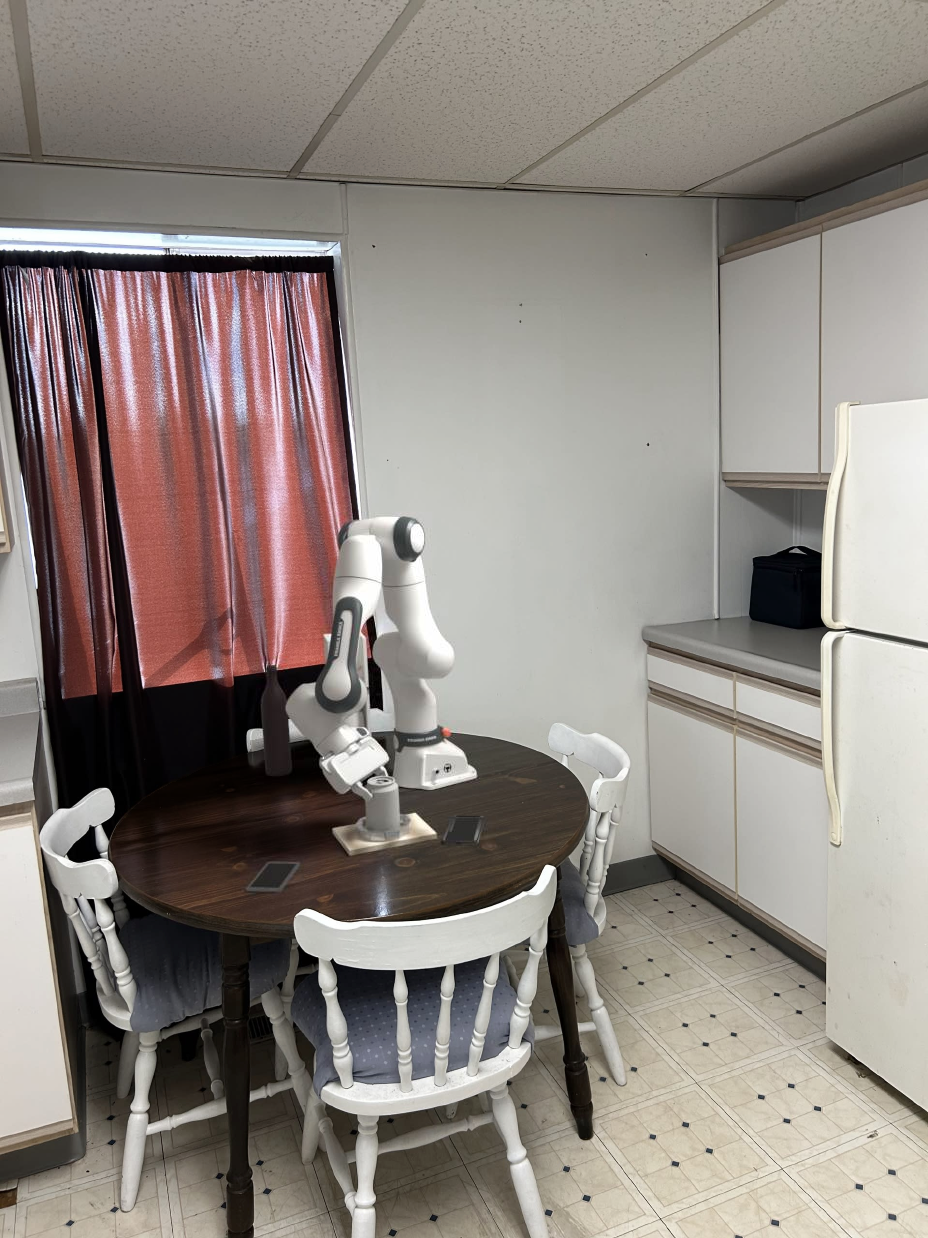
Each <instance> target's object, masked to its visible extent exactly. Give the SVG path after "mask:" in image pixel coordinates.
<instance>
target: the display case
mask: <svg viewBox="0 0 928 1238" xmlns="http://www.w3.org/2000/svg"><path fill="white" fill-rule="evenodd" d="M330 640H331V633H324V634H323V647H324V662H325V663H324V666H325V665H326V662H327V658H328V653H329V646H330ZM367 650H368V649H367V638H366V636H365V635H364V634H363V633H362V632H361V633H360V639H359V646H358V653H357V660H356V671H357V675H358V677H359V678H360V679H361V680H362V681H363V682H364V683H365V685H366V688H367V693H368V695H367V700H366V702H365V704H364V706H363V707H362V708H361V709H360V710H359V711H358V712H356V713H354V714H352V715H351V716H349V717H347V718H346V719H344V722H345V723H346V724H347V725H348V726H349V727H364V728H366V729H367V730H368V731H369V735H368V736H370V737H372V721H371V703H370V686H369V669H368V668H369V667H368V651H367Z"/></svg>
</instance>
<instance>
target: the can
mask: <svg viewBox="0 0 928 1238" xmlns="http://www.w3.org/2000/svg"><path fill="white" fill-rule="evenodd" d="M367 779H368V778H367ZM364 788H365V789H367V790H371V791H372V793H373V794H374V797H373V798H372V799H371V800H370V801H368V802H367V801H366V800H365V799H364V802H365V816H366V823H367V829H368V830H371V831H388V830H393V829H397V828H399V827H400V814H401V813H400V795H399V786H398V784H397V783H395V779H394V778H393V777H392V776H389V775H388V776H377V775H376V776H374V777H373V776H372V777H370V778H369V779H368V780H367V781H366V784H365V786H364Z"/></svg>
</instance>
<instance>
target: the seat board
mask: <svg viewBox="0 0 928 1238" xmlns="http://www.w3.org/2000/svg"><path fill="white" fill-rule="evenodd" d="M405 815H407V816H408V817H409V818H410V819H411V831H410V833H409V834H408V835H406V836H404V837H402V838H400V839H396V840H391V841H385V842H383V841H368V840H365V839H361V838H360V837H359V836H358V835H357V834H356V823H355V824H354V823H353V824H348V825H344V826H338V827H333V828H332V834H333V836H334V837H335V838H336V840H337V841H338V842H339V843H340V845H341V846H342V848H343V849H344V851H346V852H347V854H348V855H349V856H356V855H357V856H358V855H360V854H366V853H367V854H368V853H372V852H376V851H381V850H386V849H391V848H397V847H401V846H405V845H406V846H407V845H410V844H417V843H421V842H425V841H426V842H427V841H431V840H436V839H438V836H437V835H438V833H437V832H436V831H435V830H434V829H433V828H432V827H430V825H429V824H428V823H427V822H425V821H424V820H423V819H422V818H421V817H420V816H419V815H418V813H416V812H413V813H406V814H405ZM401 826H403V825H402V824H400V827H401ZM364 829H367V827H365V828H364Z"/></svg>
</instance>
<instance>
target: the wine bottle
mask: <svg viewBox="0 0 928 1238" xmlns="http://www.w3.org/2000/svg"><path fill="white" fill-rule="evenodd" d="M277 672H278V667H277V665H276V664H269V665H266V668H265V673H266V676H267V678H266V679H267V680H266V685H265V689H264V691H263V692H262V696H261V699H260V700H261V701H260V712H261V726H262V727H261V728H262V739H263V740H262V741H263V754H264V766H265V767H264V768H265V774H266V775H267V776H270V777H285V776H287V775H289V774H291V773H292V770H293V765H292V750H291V739H290V724H289V723H290V721H289V716H288V714H287V712H286V703H287V701H288V698H287V697H286V694H285V692H284V691H283V689H282V688H281V686H280V684H279V682H278V675H277Z"/></svg>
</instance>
